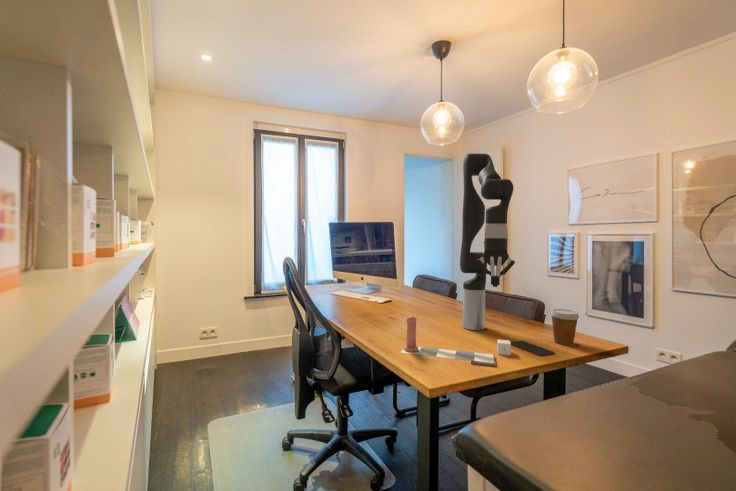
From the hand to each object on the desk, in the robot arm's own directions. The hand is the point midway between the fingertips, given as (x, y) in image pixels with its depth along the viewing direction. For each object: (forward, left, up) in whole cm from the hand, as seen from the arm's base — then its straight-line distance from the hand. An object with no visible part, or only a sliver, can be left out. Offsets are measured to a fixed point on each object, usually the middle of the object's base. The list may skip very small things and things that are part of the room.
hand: (495, 286), depth 121 cm
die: (0, +3, -23) cm, 23 cm away
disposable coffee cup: (-19, +26, -23) cm, 40 cm away
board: (+10, -15, -23) cm, 29 cm away
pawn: (+10, -27, -22) cm, 37 cm away
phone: (-8, +13, -24) cm, 28 cm away
